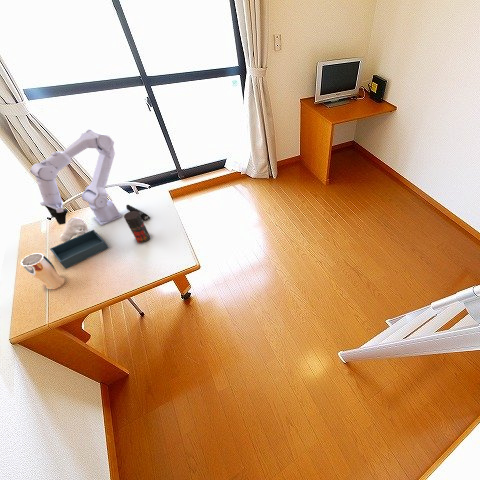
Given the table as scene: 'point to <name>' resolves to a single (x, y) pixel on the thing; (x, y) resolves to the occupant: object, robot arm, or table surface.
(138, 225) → the deodorant
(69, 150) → the robot arm
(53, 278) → the beige tall cylinder
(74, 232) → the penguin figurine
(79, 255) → the bin
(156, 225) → the table surface
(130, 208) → the electric trimmer
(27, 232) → the table surface
